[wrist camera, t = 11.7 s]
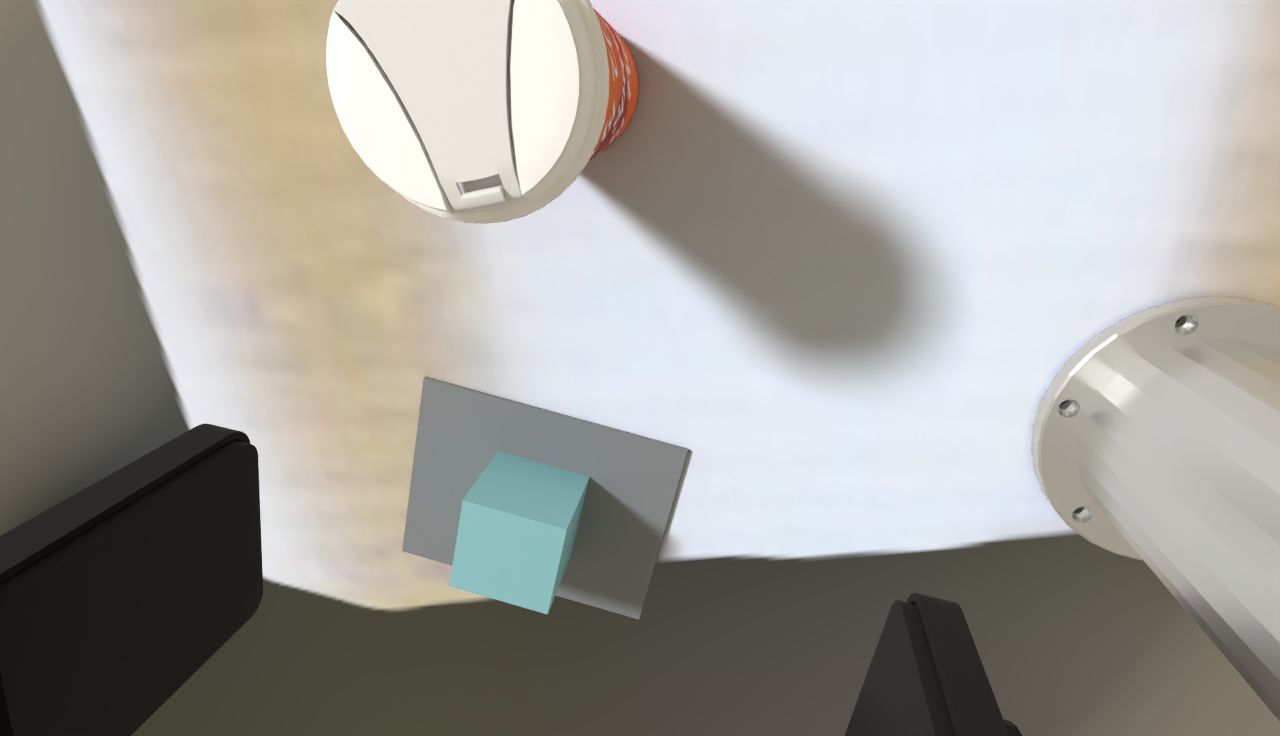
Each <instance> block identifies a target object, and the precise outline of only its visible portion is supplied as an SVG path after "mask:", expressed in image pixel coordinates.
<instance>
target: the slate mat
mask: <svg viewBox="0 0 1280 736" xmlns="http://www.w3.org/2000/svg"><path fill="white" fill-rule="evenodd" d="M498 451H500V452H504V453H507V454H511V455H514V456H518V457H521V458H525V459H529V460H532V461H536V462H539V463H543V464H546V465H550V466H554V467H557V468H561V469H564V470H568V471H571V472H575V473H579V474H582V475H586V476H589V482H588V486H587V490H586V494H585V499H584V503H583V507H582V511H581V516H580V520H579V524H578V529H577V533H576V537H575V541H574V546H573V550H572V554H571V557H570V559H569V562H568V564H567V567H566V569H565V572H564V574H563V577H562V579H561V582H560V584H559V587H558V589H557V592H556V594H555V595H556V596H560V597H563V598H567V599H571V600H574V601H577V602H581V603H584V604H588V605H591V606H594V607H598V608H601V609H605V610H608V611H612V612H615V613H619V614H622V615H625V616H629V617H632V618H636V619H639V618H640V614H641V611H642V608H643V604H644V601H645V597H646V594H647V590H648V587H649V583H650V580H651V577H652V573H653V570H654V566H655V563H656V559H657V556H658V552H659V549H660V545H661V542H662V538H663V535H664V532H665V528H666V525H667V521H668V518H669V514H670V511H671V507H672V504H673V500H674V497H675V493H676V490H677V487H678V483H679V480H680V476H681V473H682V469H683V466H684V462H685V459H686V455H687V452H688V449H686V448H683V447H679V446H675V445H672V444H668V443H665V442H661V441H657V440H654V439H650V438H646V437H643V436H639V435H636V434H632V433H628V432H625V431H621V430H617V429H614V428H610V427H606V426H603V425H599V424H596V423H592V422H588V421H585V420H581V419H577V418H574V417H570V416H567V415H563V414H559V413H556V412H552V411H548V410H545V409H541V408H537V407H534V406H530V405H527V404H523V403H519V402H516V401H512V400H508V399H505V398H501V397H498V396H494V395H490V394H487V393H483V392H479V391H476V390H472V389H468V388H465V387H461V386H458V385H454V384H450V383H447V382H443V381H439V380H436V379H432V378H428V377H425V378H424V381H423V389H422V397H421V405H420V413H419V421H418V429H417V437H416V445H415V453H414V462H413V470H412V478H411V486H410V494H409V502H408V510H407V518H406V526H405V534H404V542H403V550H402V551H404V552H408V553H411V554H415V555H418V556H422V557H425V558H428V559H432V560H435V561H439V562H442V563H446V564H449V565H453V559H454V552H455V546H456V540H457V533H458V527H459V521H460V514H461V508H462V502H463V499H464V498H465V496H466V495H467V494H468V492H469V491H470V489H471V488H472V487H473V485H474V484H475V483H476V481H477V480H478V478H479V477H480V476H481V474H482V473H483V471H484V470H485V469H486V467H487V466H488V465H489V463H490V462H491V460H492V459H493V458H494V456H495V455H496V453H497V452H498Z"/></svg>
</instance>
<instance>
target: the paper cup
mask: <svg viewBox="0 0 1280 736" xmlns="http://www.w3.org/2000/svg"><path fill="white" fill-rule="evenodd" d="M326 67H327V75H328V84H329V89H330V93H331V97H332V101H333V105H334V108H335V111H336V113H337V116H338V118H339V121H340V123H341V126H342V128H343V130H344V132H345V133H346V135H347V137H348V139H349V141H350V143H351V144H352V146H353V148H354V149H355V150H356V152H357V153H358V154H359V156H360V157H361V158H362V160H363V161H364V162H365V164H366V165H367V166H368V167H369V168H370V169H371V170H372V171H373V172H374V173H375V174H376V175H377V176H378V177H379V178H380V179H381V180H382V181H383V182H385V183H386V184H387V185H389V186H390V187H391V188H392V189H394V190H395V191H396V192H398V193H399V194H401V195H402V196H403V197H405V198H406V199H407V200H409V201H410V202H412V203H414V204H416V205H417V206H419V207H421V208H423V209H424V210H426V211H429V212H431V213H434V214H436V215H439V216H442V217H444V218H448V219H452V220H457V221H461V222H466V223H484V224H486V223H496V222H505V221H509V220H512V219H516V218H519V217H523V216H526V215H528V214H530V213H532V212H534V211H536V210H538V209H540V208H542V207H544V206H545V205H547V204H548V203H550V202H551V201H552V200H554V199H555V198H557V197H558V196H560V195H561V194H562V193H563V192H564V191H565V190H566V189H567V188H568V187H569V186H570V185H571V184H572V183H573V182H574V181H575V180H576V178H577V177H578V175H579V174H580V173H581V171H582V170H583V168H584V167H585V166H586V164H587V163H588V161H590V160H591V159H592V158H594V157H595V156H597V155H598V154H599V153H600V152H602V151H603V150H604V149H606V148H607V147H608V146H610V145H611V144H612V143H613V142H614V141H615V140H616V139H617V138H618V137H619V136H620V135H621V134H622V133H623V131H624V130H625V129H626V127H627V126H628V124H629V122H630V120H631V118H632V116H633V114H634V111H635V108H636V105H637V100H638V91H639V82H638V74H637V69H636V65H635V62H634V59H633V57H632V54H631V52H630V50H629V49H628V47H627V45H626V44H625V42H624V41H623V39H622V38H621V37H620V35H619V34H618V33H617V32H616V31H615V30H614V29H613V28H612V26H611V25H610V24H609V23H608V22H607V21H606V20H605V19H604V18H603V17H602V16H601V15H600V14H599V13H598V12H597V11H596V10H595V9H594V8H593V7H592V4H591V2H590V0H339V1H338V3H337V5H336V6H335V8H334V10H333V13H332V16H331V19H330V24H329V30H328V36H327V48H326Z"/></svg>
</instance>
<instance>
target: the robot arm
mask: <svg viewBox="0 0 1280 736" xmlns="http://www.w3.org/2000/svg"><path fill="white" fill-rule="evenodd" d="M1180 317H1181V318H1180ZM1179 318H1180V320H1179V321H1178V322H1177V323H1176V321H1177V320H1178V319H1179ZM1063 401H1066V402H1065V403H1064V404H1063V405H1060V404H1061V403H1062V402H1063ZM1031 451H1032V457H1033V464H1034V471H1035V474H1036V476H1037V479H1038V481H1039V484H1040V486H1041V489H1042V491H1043V493H1044V494H1045V496H1046V497H1047V499H1048V500H1049V502H1050V503H1051V505H1052V506H1053V508H1054V509H1055V511H1056V512H1057V513H1058V514H1059V516H1060V517H1061V518H1062V519H1063V520H1064V521H1065V523H1066V524H1067V525H1068V526H1069V527H1070V528H1072V529H1073V530H1074V531H1076V532H1077V533H1078V534H1080V535H1081V536H1083V537H1084V538H1085V539H1087V540H1088V541H1089V542H1091V543H1093V544H1095V545H1097V546H1100V547H1102V548H1104V549H1106V550H1108V551H1110V552H1112V553H1116V554H1119V555H1123V556H1127V557H1130V558H1134V559H1137V560H1144V561H1145V562H1146V564H1147V565H1148V566H1149V567H1150V568H1151V570H1152V571H1153V572H1154V573H1155V574H1156V575H1157V577H1158V578H1159V579H1160V580H1161V581H1162V582H1163V584H1164V585H1165V586H1166V587H1167V588H1168V590H1169V591H1170V592H1171V593H1172V594H1173V595H1174V597H1175V598H1176V599H1177V600H1178V601H1179V603H1180V604H1181V605H1182V606H1183V607H1184V608H1185V610H1186V611H1187V612H1188V613H1189V614H1190V616H1191V617H1192V618H1193V619H1194V620H1195V622H1196V623H1197V624H1198V625H1199V626H1200V627H1201V629H1202V630H1203V631H1204V632H1205V633H1206V634H1207V636H1208V637H1209V638H1210V639H1211V640H1212V642H1213V643H1214V644H1215V645H1216V646H1217V648H1218V649H1219V650H1220V651H1221V652H1222V653H1223V655H1224V656H1225V657H1226V658H1227V659H1228V661H1229V662H1230V663H1231V664H1232V665H1233V666H1234V668H1235V669H1236V670H1237V671H1238V672H1239V673H1240V675H1241V676H1242V677H1243V678H1244V679H1245V681H1246V682H1247V683H1248V684H1249V685H1250V687H1251V688H1252V689H1253V690H1254V691H1255V692H1256V694H1257V695H1258V696H1259V697H1260V698H1261V700H1262V701H1263V702H1264V703H1265V704H1266V705H1267V707H1268V708H1269V709H1270V710H1271V711H1272V712H1273V714H1274V715H1275V716H1276V717H1277V718H1278V720H1279V721H1280V308H1279V307H1276V306H1274V305H1270V304H1266V303H1262V302H1258V301H1254V300H1250V299H1246V298H1234V297H1219V296H1210V297H1200V298H1190V299H1181V300H1177V301H1173V302H1169V303H1165V304H1162V305H1158V306H1154V307H1150V308H1148V309H1145V310H1143V311H1141V312H1138V313H1136V314H1134V315H1132V316H1129V317H1127V318H1125V319H1122V320H1120V321H1119V322H1117V323H1115V324H1114V325H1112V326H1111V327H1109V328H1107V329H1106V330H1104V331H1103V332H1101V333H1099V334H1098V335H1096V336H1095V337H1093V338H1092V339H1091V340H1090V341H1089V342H1088V343H1086V344H1085V345H1084V346H1083V347H1082V348H1081V349H1080V350H1078V351H1077V352H1076V353H1075V354H1074V355H1073V356H1072V357H1071V358H1070V359H1069V360H1068V361H1067V363H1066V364H1065V365H1064V366H1063V368H1062V369H1061V370H1060V371H1059V372H1058V374H1057V375H1056V376H1055V377H1054V379H1053V380H1052V382H1051V384H1050V386H1049V388H1048V390H1047V391H1046V393H1045V395H1044V397H1043V399H1042V401H1041V403H1040V406H1039V409H1038V412H1037V415H1036V419H1035V422H1034V425H1033V435H1032V447H1031ZM262 594H263V578H262V551H261V524H260V498H259V471H258V453H257V449H256V448H255V446H253V445H252V444H250V440H249V438H248V436H247V435H246V434H244V433H243V432H240V431H236V430H232V429H227V428H223V427H219V426H215V425H211V424H201V425H199V426H196V427H194V428H193V429H191V430H189V431H187V432H185V433H184V434H182V435H180V436H178V437H177V438H175V439H173V440H171V441H169V442H168V443H166V444H164V445H162V446H160V447H159V448H157V449H155V450H153V451H151V452H150V453H148V454H146V455H144V456H143V457H141V458H139V459H137V460H136V461H134V462H132V463H130V464H128V465H126V466H125V467H123V468H121V469H119V470H118V471H116V472H114V473H112V474H110V475H109V476H107V477H105V478H103V479H101V480H100V481H98V482H96V483H94V484H92V485H91V486H89V487H87V488H85V489H84V490H82V491H80V492H78V493H76V494H75V495H73V496H71V497H69V498H68V499H66V500H64V501H62V502H60V503H58V504H57V505H55V506H53V507H51V508H49V509H48V510H46V511H44V512H43V513H41V514H39V515H37V516H35V517H33V518H32V519H30V520H28V521H26V522H25V523H23V524H21V525H19V526H17V527H16V528H14V529H12V530H10V531H8V532H7V533H5V534H3V535H1V536H0V736H131V735H132V734H133V733H134V732H135V731H136V730H137V729H138V728H139V727H140V726H141V725H142V724H143V723H144V722H145V721H146V720H147V719H148V718H149V717H150V716H151V715H152V714H153V713H154V712H155V711H156V710H157V709H158V708H159V707H160V706H161V705H162V704H163V703H164V702H165V701H166V700H167V699H168V698H170V696H172V695H173V693H174V692H176V691H177V690H178V689H179V688H180V687H181V686H182V685H183V683H185V682H186V681H187V680H188V679H189V678H190V677H191V676H192V675H193V674H194V673H195V672H196V671H197V670H198V669H199V668H200V667H201V666H202V665H203V664H204V663H205V662H206V661H207V660H208V659H209V658H210V657H211V656H212V655H213V654H214V653H215V652H216V651H217V650H218V649H219V648H220V647H221V646H222V645H223V644H224V643H225V642H226V641H227V640H228V639H229V638H230V637H231V636H232V635H233V634H234V633H236V632H237V630H238V629H240V628H241V627H242V626H243V625H244V624H245V623H246V622H247V621H248V620H249V619H250V618H251V617H252V615H253V614H254V613H255V611H256V610H257V608H258V606H259V603H260V602H261V598H262ZM845 736H1022V735H1021V733H1020V731H1019V729H1018V727H1016V726H1015V725H1014V724H1013V723H1012V722H1010V721H1007V720H1003V718H1002V715H1001V712H1000V710H999V707H998V705H997V702H996V699H995V696H994V694H993V691H992V688H991V686H990V683H989V681H988V678H987V675H986V673H985V670H984V667H983V665H982V662H981V659H980V657H979V654H978V652H977V649H976V646H975V644H974V641H973V638H972V636H971V633H970V631H969V628H968V625H967V622H966V620H965V618H964V615H963V612H962V610H961V608H960V606H959V604H957V603H955V602H951V601H947V600H943V599H939V598H935V597H930V596H927V595H922V594H918V593H913V594H911V595H910V596H909V598H908V600H907V602H905V601H901V600H896V601H895V602H894V603H893V605H892V607H891V609H890V612H889V615H888V617H887V620H886V623H885V626H884V629H883V631H882V634H881V637H880V639H879V642H878V645H877V648H876V651H875V654H874V656H873V659H872V662H871V664H870V667H869V670H868V673H867V675H866V678H865V681H864V684H863V686H862V689H861V692H860V695H859V698H858V700H857V703H856V706H855V709H854V711H853V714H852V717H851V720H850V722H849V725H848V728H847V731H846V733H845Z"/></svg>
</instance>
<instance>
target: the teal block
mask: <svg viewBox="0 0 1280 736" xmlns="http://www.w3.org/2000/svg"><path fill="white" fill-rule="evenodd" d="M588 482H589V476H586V475H582V474H579V473H575V472H571V471H568V470H564V469H561V468H557V467H554V466H550V465H546V464H543V463H539V462H536V461H532V460H529V459H525V458H521V457H518V456H514V455H511V454H507V453H504V452H500V451H498V452H497V453H496V455H495V456H494V458H493V459H492V460H491V462H490V463H489V465H488V466H487V467H486V469H485V470H484V471H483V473H482V474H481V476H480V477H479V478H478V480H477V481H476V483H475V484H474V485H473V487H472V488H471V489H470V491H469V492H468V494H467V495H466V496H465V498H464V499H463V502H462V508H461V514H460V521H459V527H458V533H457V540H456V546H455V552H454V559H453V565H452V571H451V578H450V584H449V586H452V587H455V588H459V589H462V590H465V591H469V592H472V593H476V594H479V595H483V596H486V597H489V598H493V599H496V600H500V601H503V602H507V603H510V604H514V605H517V606H521V607H524V608H527V609H531V610H534V611H538V612H541V613H544V614H548V612H549V609H550V607H551V604H552V602H553V599H554V597H555V594H556V592H557V589H558V587H559V584H560V582H561V579H562V577H563V574H564V572H565V569H566V567H567V564H568V562H569V559H570V557H571V554H572V550H573V546H574V541H575V537H576V533H577V529H578V524H579V520H580V516H581V511H582V507H583V503H584V499H585V494H586V490H587V486H588Z"/></svg>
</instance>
